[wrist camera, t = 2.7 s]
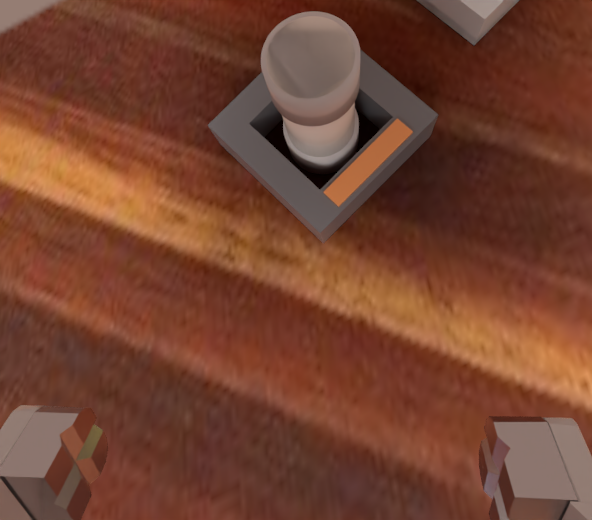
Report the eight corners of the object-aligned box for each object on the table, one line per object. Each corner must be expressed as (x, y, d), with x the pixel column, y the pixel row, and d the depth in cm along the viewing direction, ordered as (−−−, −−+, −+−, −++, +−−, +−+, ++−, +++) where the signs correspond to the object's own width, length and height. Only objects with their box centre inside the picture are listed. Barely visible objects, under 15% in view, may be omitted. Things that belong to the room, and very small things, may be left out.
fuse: (273, 142, 27) (240, 60, 19) (322, 94, 27) (310, -7, 19) (323, 188, 26) (310, 123, 18) (373, 138, 26) (381, 52, 18)
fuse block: (220, 144, 27) (206, 123, 24) (322, 44, 27) (319, 12, 25) (323, 243, 26) (319, 232, 23) (430, 136, 26) (439, 112, 23)
